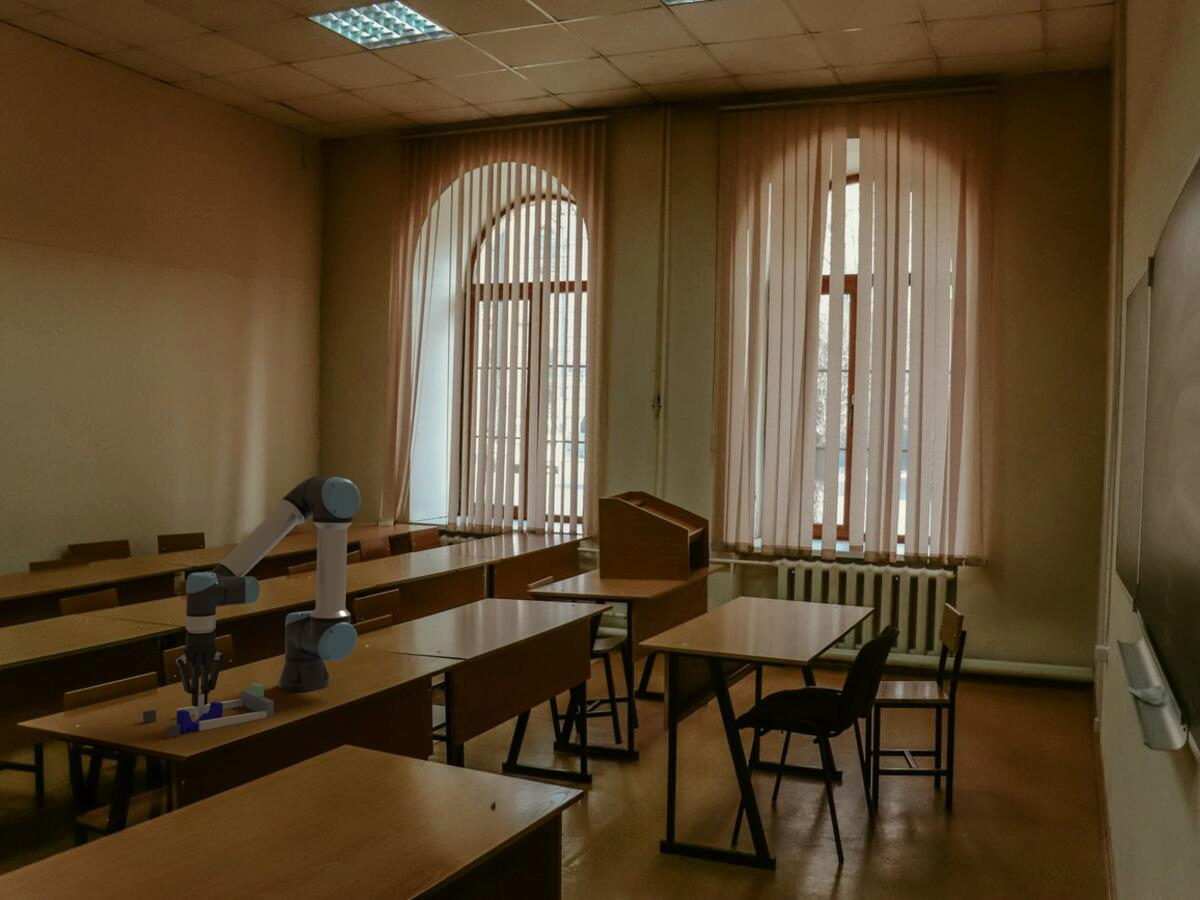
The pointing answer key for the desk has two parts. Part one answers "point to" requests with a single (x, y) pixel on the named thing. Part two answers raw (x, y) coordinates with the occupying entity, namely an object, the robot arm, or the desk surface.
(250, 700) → the port dock
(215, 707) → the blue u-shaped block
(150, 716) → the holster stops
